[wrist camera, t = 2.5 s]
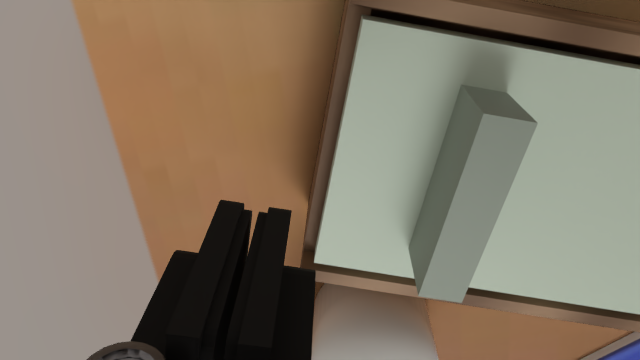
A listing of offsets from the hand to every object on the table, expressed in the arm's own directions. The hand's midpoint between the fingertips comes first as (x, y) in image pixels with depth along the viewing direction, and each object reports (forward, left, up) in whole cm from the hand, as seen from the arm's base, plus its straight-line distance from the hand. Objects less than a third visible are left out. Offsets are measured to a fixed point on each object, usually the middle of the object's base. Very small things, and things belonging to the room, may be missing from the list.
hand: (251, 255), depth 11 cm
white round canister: (-6, +13, -13) cm, 20 cm away
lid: (-9, 0, -8) cm, 12 cm away
